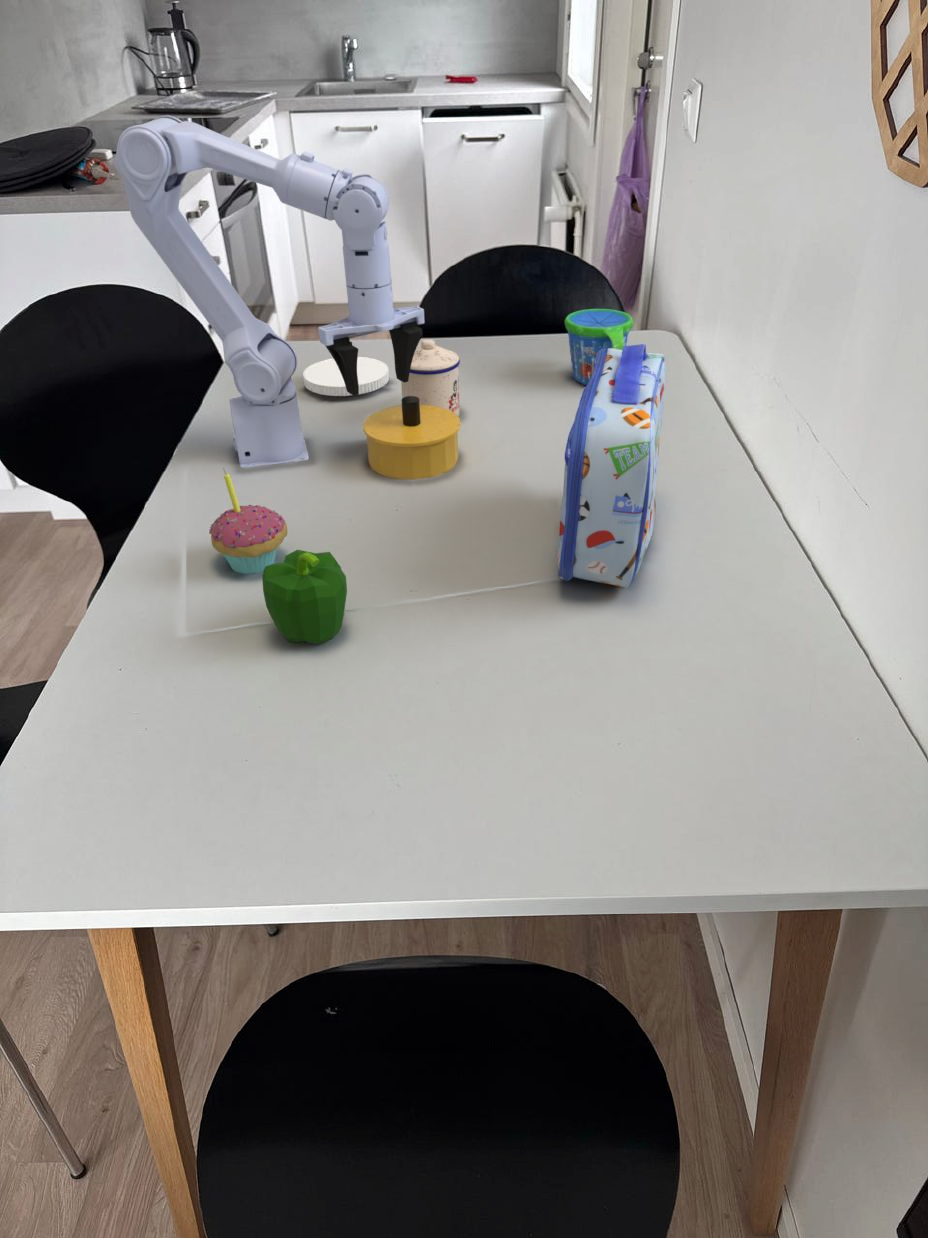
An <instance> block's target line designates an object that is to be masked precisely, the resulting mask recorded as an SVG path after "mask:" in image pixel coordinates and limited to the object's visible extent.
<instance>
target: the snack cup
mask: <svg viewBox="0 0 928 1238" xmlns="http://www.w3.org/2000/svg"><path fill="white" fill-rule="evenodd" d="M564 326H565V329H566V331H567V334H568V344H569V345H568V346H569V355H570V363H571V371H572V378H573V379H574V381H576V382H578V383H581V384H582V385H584V386H587V384H588V383H589V377H588V372H590V374H591V376H592V374H593V371H594V363H595V360H596V354H597V352H598V351H599V350H601V349H608V348H614V349H618V350H623V346H627V344H628V337H629V333H630V332H631V330H632V328H633V326H634V320H633V317H632V316H631V315H630V314H629V313H627V312H624V311H621V310H617V309H611V308H610V309H609V308H590V309H589V308H587V309H580V310H577V311H574V312H571V313H569V314H568V315H567V316H566V317H565V319H564Z"/></svg>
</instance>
